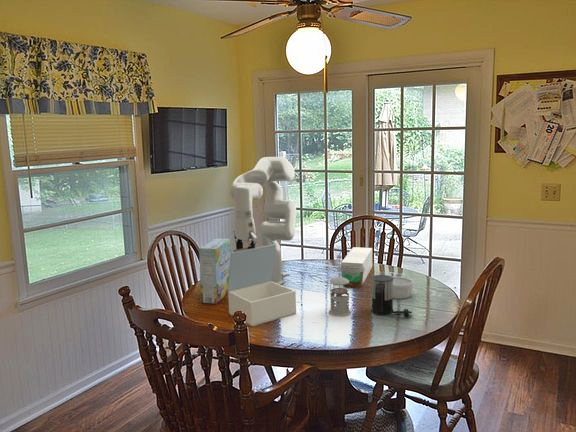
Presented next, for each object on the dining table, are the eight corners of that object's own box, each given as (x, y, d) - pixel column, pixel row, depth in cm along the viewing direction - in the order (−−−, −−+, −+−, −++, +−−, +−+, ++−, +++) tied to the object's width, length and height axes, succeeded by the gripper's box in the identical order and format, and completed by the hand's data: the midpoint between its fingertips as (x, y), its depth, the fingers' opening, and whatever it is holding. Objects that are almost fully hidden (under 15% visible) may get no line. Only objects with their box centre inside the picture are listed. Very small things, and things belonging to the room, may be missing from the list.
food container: (337, 287, 248) (336, 267, 246) (340, 283, 253) (340, 264, 251) (361, 290, 243) (361, 269, 241) (365, 286, 249) (365, 266, 247)
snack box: (218, 304, 229) (215, 248, 224) (200, 303, 230) (197, 248, 226) (233, 289, 249) (230, 237, 245) (216, 288, 251) (213, 237, 247)
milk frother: (370, 307, 220) (370, 274, 217) (406, 307, 219) (407, 273, 217) (374, 320, 206) (374, 284, 203) (413, 319, 205) (414, 284, 203)
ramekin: (418, 294, 235) (418, 280, 234) (403, 302, 225) (403, 287, 224) (393, 288, 244) (393, 274, 242) (378, 296, 234) (378, 281, 233)
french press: (335, 318, 209) (334, 259, 204) (322, 309, 219) (321, 252, 215) (355, 314, 212) (355, 256, 208) (342, 305, 223) (341, 250, 218)
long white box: (362, 284, 252) (362, 263, 250) (341, 283, 255) (341, 262, 254) (372, 266, 282) (372, 248, 280) (353, 265, 285) (353, 247, 283)
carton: (271, 302, 229) (271, 281, 227) (296, 313, 215) (295, 290, 213) (229, 314, 216) (228, 291, 215) (252, 326, 202) (251, 302, 200)
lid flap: (271, 280, 228) (264, 275, 231) (275, 244, 221) (269, 239, 224) (228, 291, 215) (222, 285, 218) (231, 253, 208) (225, 247, 212)
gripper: (262, 215, 213) (264, 255, 216) (240, 210, 227) (242, 248, 230) (247, 218, 209) (249, 258, 212) (226, 212, 222) (228, 250, 225)
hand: (245, 253), depth 221 cm, fingers open, 9 cm apart
